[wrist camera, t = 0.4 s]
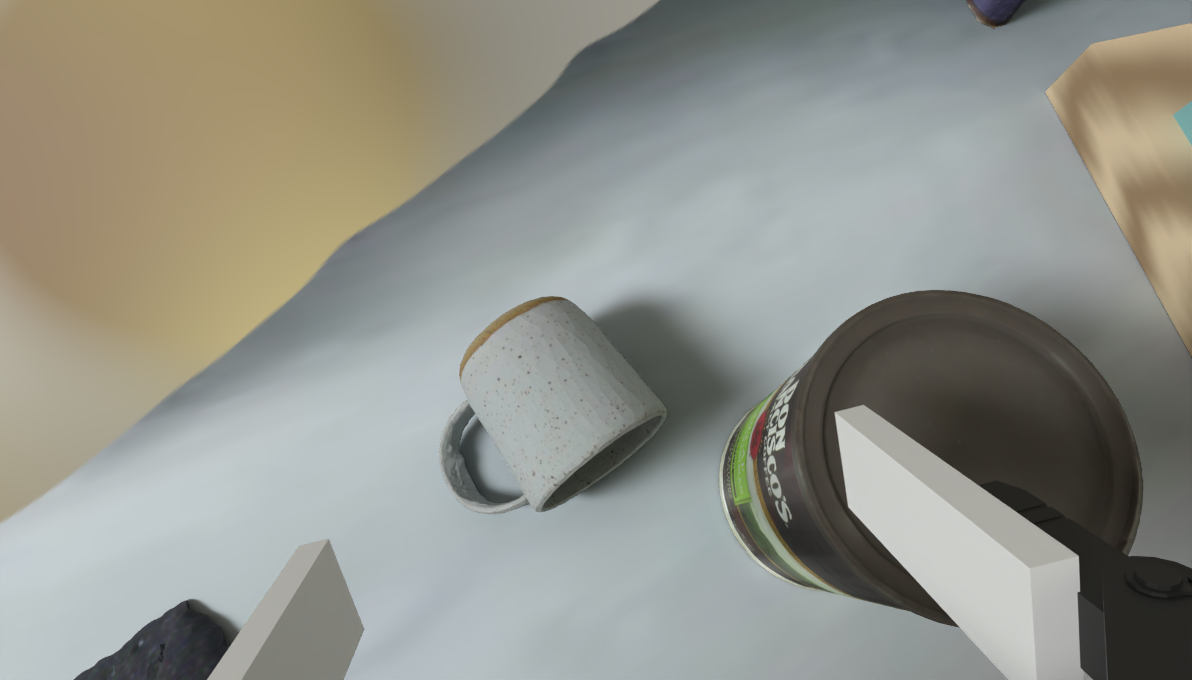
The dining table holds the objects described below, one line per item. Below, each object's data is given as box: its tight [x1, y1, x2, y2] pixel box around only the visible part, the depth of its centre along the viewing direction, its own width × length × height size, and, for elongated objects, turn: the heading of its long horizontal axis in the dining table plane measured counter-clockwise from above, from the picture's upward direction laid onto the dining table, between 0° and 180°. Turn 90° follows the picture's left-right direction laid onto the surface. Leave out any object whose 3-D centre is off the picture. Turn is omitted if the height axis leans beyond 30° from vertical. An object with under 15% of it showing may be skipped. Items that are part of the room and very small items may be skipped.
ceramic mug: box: [439, 296, 667, 514], centre depth 30 cm, size 11×8×8 cm
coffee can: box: [719, 290, 1143, 628], centre depth 26 cm, size 10×10×14 cm
